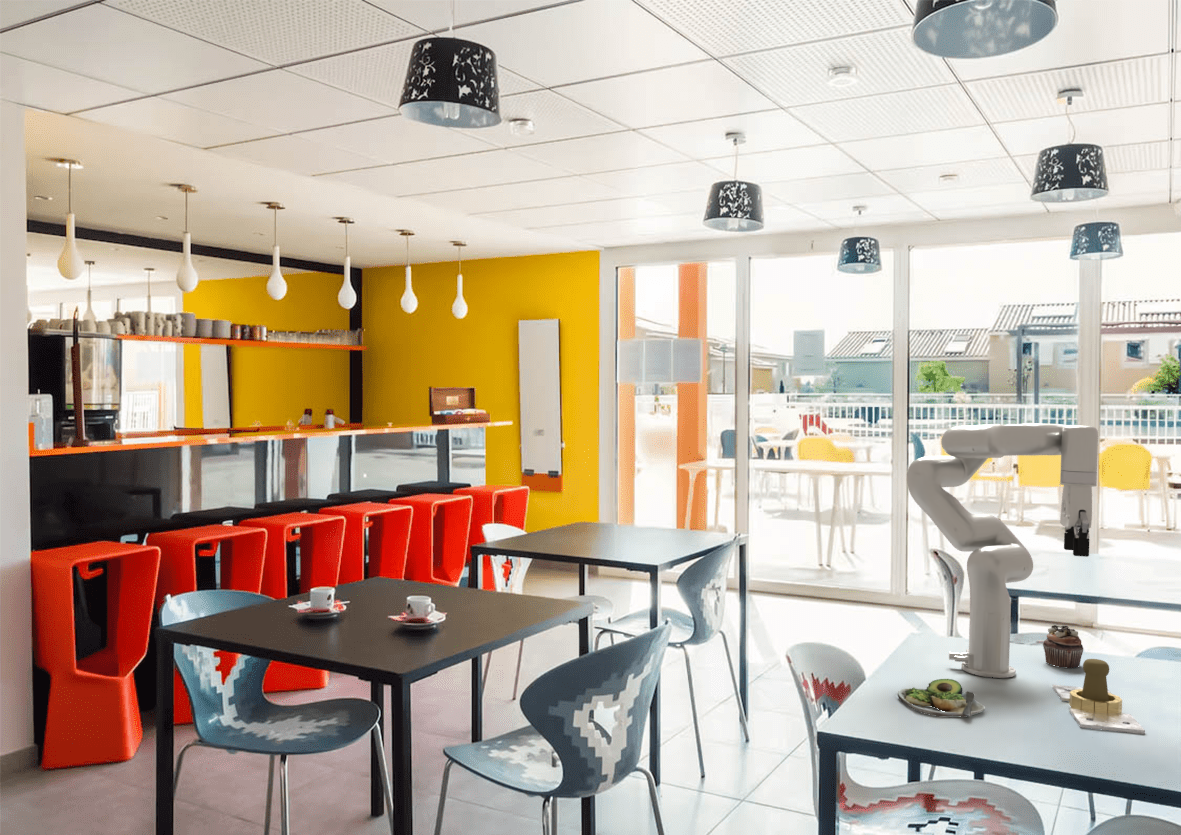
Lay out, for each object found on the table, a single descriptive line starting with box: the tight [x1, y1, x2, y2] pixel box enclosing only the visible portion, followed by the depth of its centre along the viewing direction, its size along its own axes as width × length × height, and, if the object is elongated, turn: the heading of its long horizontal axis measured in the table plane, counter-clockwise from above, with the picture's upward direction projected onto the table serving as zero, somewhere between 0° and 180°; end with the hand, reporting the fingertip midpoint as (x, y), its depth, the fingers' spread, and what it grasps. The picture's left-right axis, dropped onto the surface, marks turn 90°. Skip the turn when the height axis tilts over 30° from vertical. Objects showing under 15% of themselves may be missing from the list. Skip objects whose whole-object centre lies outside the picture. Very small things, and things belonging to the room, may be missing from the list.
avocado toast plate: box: [897, 678, 986, 718], centre depth 214 cm, size 19×18×5 cm
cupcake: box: [1042, 624, 1084, 669], centre depth 253 cm, size 10×10×10 cm
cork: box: [1081, 658, 1110, 701], centre depth 215 cm, size 6×6×11 cm
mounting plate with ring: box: [1051, 684, 1146, 735], centre depth 215 cm, size 12×30×3 cm, turn 165°
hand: (1076, 552), depth 224 cm, fingers open, 9 cm apart
